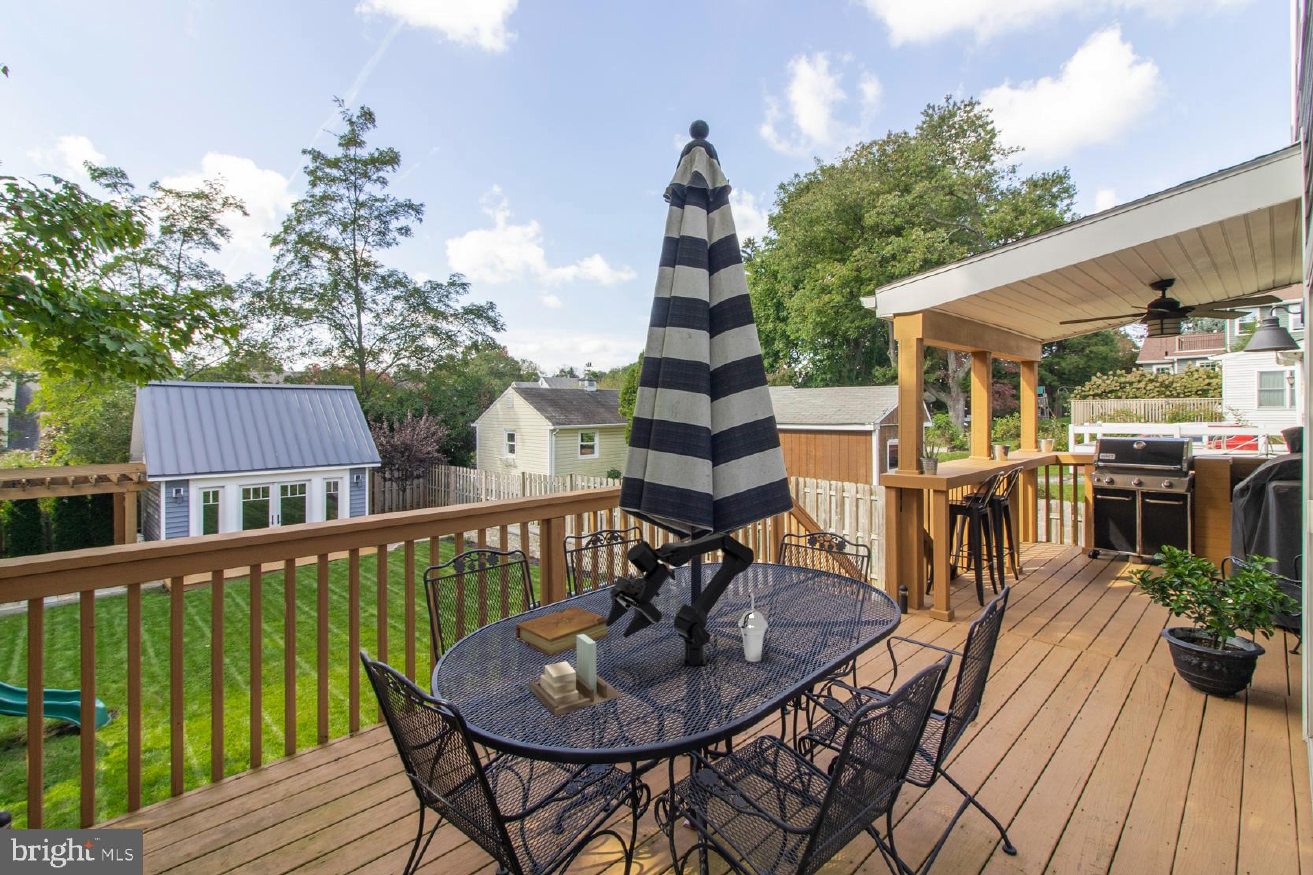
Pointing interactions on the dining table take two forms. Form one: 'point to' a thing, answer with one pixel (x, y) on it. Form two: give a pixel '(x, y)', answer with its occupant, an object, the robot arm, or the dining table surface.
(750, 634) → the cup with straw
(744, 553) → the robot arm
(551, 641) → the diary
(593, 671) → the sage panel
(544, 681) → the offcut stack
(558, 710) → the tray
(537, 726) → the dining table surface
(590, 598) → the dining table surface
